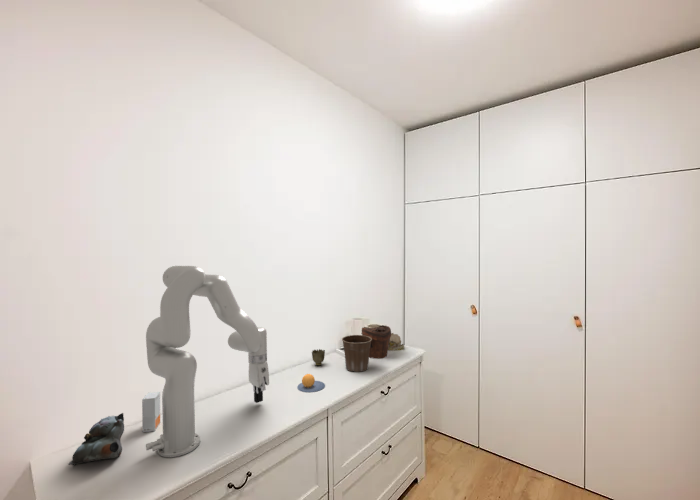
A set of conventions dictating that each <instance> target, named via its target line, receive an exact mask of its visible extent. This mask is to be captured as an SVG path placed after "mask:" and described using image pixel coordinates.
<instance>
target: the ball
mask: <svg viewBox="0 0 700 500" xmlns="http://www.w3.org/2000/svg"><path fill="white" fill-rule="evenodd" d="M315 381H316V379H315V377H314V375H313V374H311V373H306V374H305V375H304V374H303V377H302V378H301V383H302V384H303V385H304V386H305V387H307V388H309V387H312V386H313V385H314V382H315Z"/></svg>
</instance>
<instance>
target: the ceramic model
mask: <svg viewBox="0 0 700 500" xmlns="http://www.w3.org/2000/svg"><path fill="white" fill-rule="evenodd" d="M404 348H405V345H404V343H402V339H401V336H399V334H397V333H394V332H391V337H390V341H389V346H388V351H403V350H404Z"/></svg>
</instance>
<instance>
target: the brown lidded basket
mask: <svg viewBox="0 0 700 500" xmlns="http://www.w3.org/2000/svg"><path fill="white" fill-rule="evenodd" d="M391 330H392V329H391V327H390V326H387V325H385V324H384V325H383V324H382V325H380V326H376V327H370V328H369V327H362V328H361V334H360V335H364V336H368V337H370V338H372V341H371V346H370V351H369V359H384V358H386V357H387V356H388V351H389V350H388V346H389V341H390V337H391V333H392V331H391Z"/></svg>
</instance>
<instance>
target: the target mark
mask: <svg viewBox="0 0 700 500" xmlns="http://www.w3.org/2000/svg"><path fill="white" fill-rule="evenodd" d="M296 387H297V390H298V391H300V392H303V393H315V392H320V391H322V390H323V389H325V387H326V383H324V382H323V381H320V380H315V382H314V385H313V386H312V387H309V388H307V387H305V386H304V385H303V384H302V382H301V383H299V384H298V385H297V386H296Z"/></svg>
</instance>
